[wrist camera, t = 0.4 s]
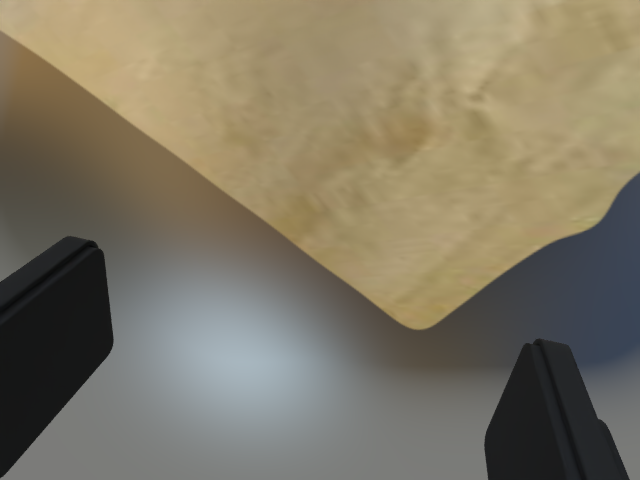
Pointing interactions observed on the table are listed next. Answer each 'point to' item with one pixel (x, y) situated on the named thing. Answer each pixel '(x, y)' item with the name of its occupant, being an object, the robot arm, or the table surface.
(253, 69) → the table surface
